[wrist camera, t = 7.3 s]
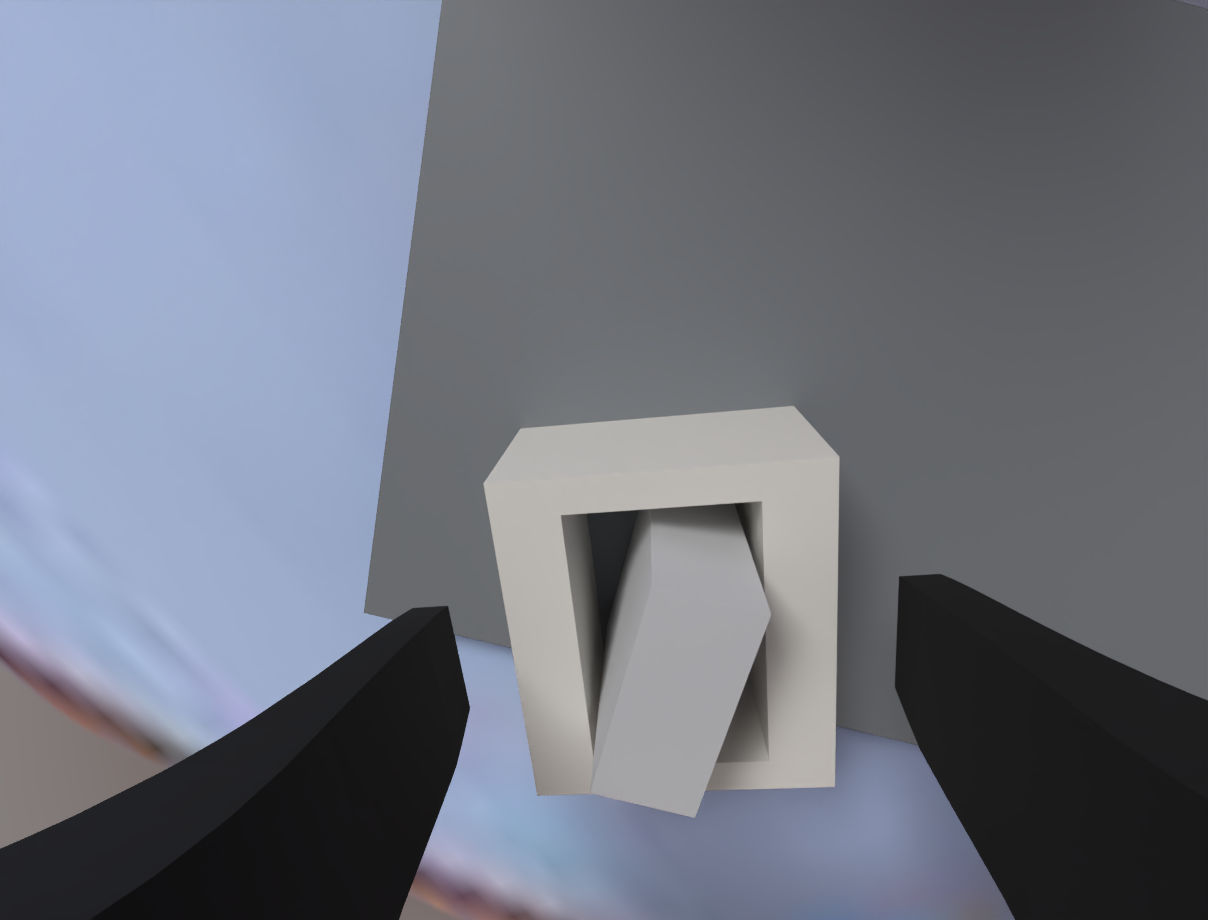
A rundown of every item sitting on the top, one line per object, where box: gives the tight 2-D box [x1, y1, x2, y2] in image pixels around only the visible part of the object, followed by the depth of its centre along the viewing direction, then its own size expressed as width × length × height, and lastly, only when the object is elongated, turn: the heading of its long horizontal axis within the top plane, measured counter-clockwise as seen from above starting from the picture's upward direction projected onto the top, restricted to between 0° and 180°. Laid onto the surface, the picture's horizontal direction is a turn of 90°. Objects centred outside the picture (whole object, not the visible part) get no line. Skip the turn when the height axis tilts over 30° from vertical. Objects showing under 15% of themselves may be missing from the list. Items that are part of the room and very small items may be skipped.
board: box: [364, 0, 1208, 818], centre depth 10 cm, size 20×14×6 cm
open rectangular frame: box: [483, 406, 839, 796], centre depth 12 cm, size 5×6×3 cm
